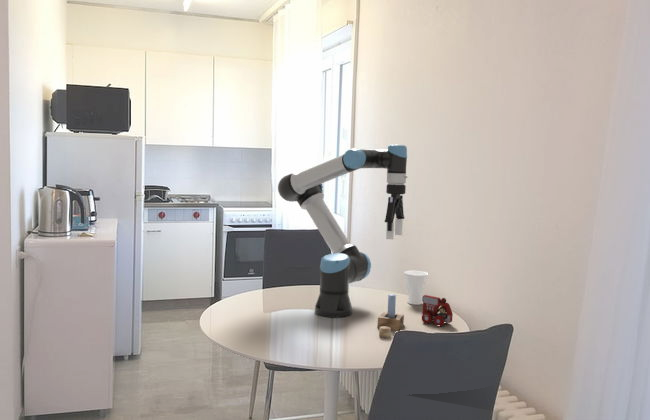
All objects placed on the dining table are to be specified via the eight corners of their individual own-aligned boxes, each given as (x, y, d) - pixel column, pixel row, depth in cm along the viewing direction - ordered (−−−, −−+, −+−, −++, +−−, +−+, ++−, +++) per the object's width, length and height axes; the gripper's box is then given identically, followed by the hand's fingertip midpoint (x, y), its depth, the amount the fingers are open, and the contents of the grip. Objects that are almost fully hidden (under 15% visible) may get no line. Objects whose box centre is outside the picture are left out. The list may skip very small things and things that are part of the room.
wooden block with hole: (377, 327, 212) (377, 317, 212) (383, 322, 220) (383, 312, 219) (398, 330, 210) (398, 320, 209) (403, 324, 217) (403, 314, 217)
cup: (430, 302, 251) (432, 272, 250) (421, 307, 242) (422, 276, 241) (408, 298, 257) (410, 269, 255) (398, 303, 248) (400, 273, 247)
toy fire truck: (447, 328, 214) (448, 301, 213) (417, 322, 221) (418, 296, 220) (454, 324, 220) (456, 298, 219) (425, 318, 227) (426, 292, 226)
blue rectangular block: (386, 326, 214) (387, 295, 213) (388, 324, 216) (389, 294, 215) (393, 327, 213) (394, 296, 212) (395, 325, 216) (396, 294, 214)
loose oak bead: (377, 337, 202) (378, 328, 202) (380, 333, 206) (381, 325, 205) (388, 338, 201) (389, 330, 200) (391, 335, 204) (391, 327, 204)
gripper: (397, 185, 213) (395, 241, 215) (412, 183, 236) (410, 233, 238) (378, 184, 215) (376, 240, 218) (394, 182, 239) (392, 232, 241)
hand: (394, 237), depth 228 cm, fingers open, 13 cm apart
